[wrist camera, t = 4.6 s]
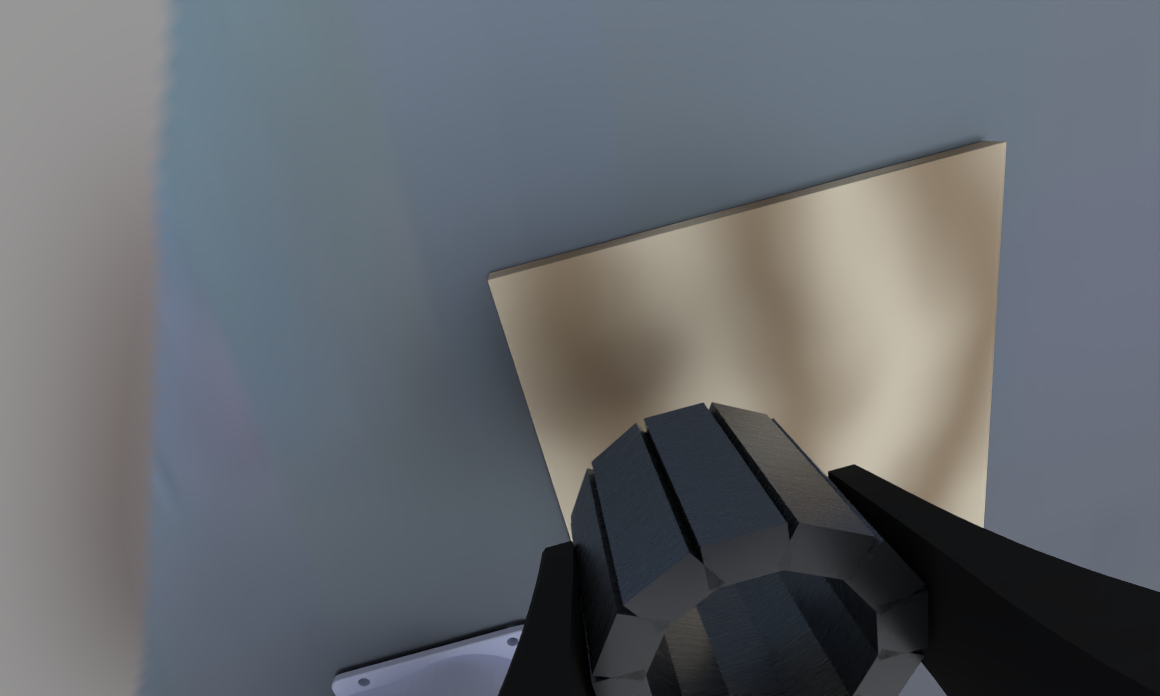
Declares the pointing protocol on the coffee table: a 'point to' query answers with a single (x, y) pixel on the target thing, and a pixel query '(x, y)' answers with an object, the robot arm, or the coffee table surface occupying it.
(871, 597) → the ring
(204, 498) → the coffee table surface
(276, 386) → the coffee table surface
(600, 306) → the board
